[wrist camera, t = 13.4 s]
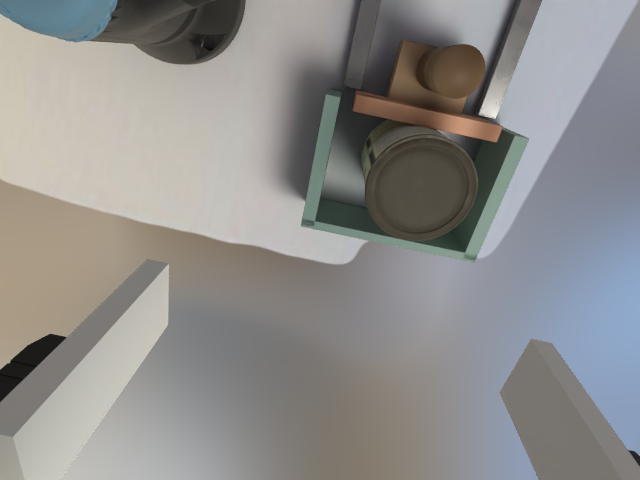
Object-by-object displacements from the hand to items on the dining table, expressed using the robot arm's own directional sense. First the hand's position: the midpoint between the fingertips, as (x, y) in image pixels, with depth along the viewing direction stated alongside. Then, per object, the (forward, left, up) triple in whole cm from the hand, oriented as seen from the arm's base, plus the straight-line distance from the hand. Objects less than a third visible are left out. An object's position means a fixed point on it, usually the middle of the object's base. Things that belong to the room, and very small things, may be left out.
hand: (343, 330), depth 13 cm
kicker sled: (+7, +8, -35) cm, 36 cm away
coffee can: (+7, -1, -37) cm, 38 cm away
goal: (+7, -2, -37) cm, 37 cm away
